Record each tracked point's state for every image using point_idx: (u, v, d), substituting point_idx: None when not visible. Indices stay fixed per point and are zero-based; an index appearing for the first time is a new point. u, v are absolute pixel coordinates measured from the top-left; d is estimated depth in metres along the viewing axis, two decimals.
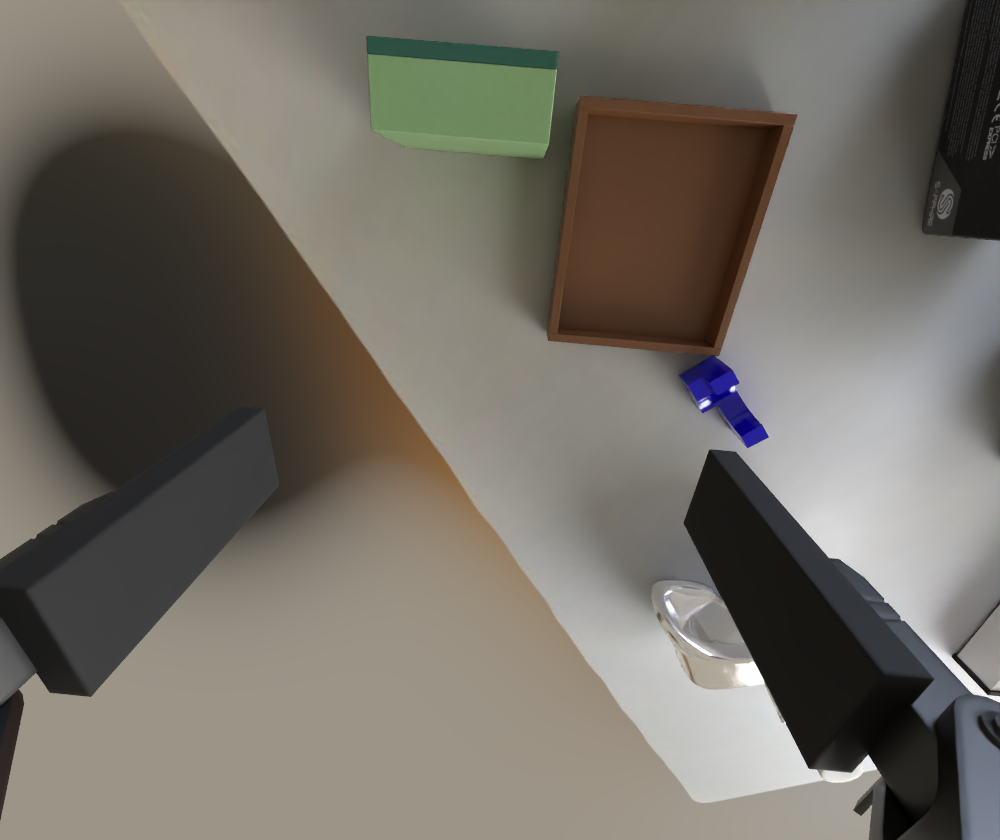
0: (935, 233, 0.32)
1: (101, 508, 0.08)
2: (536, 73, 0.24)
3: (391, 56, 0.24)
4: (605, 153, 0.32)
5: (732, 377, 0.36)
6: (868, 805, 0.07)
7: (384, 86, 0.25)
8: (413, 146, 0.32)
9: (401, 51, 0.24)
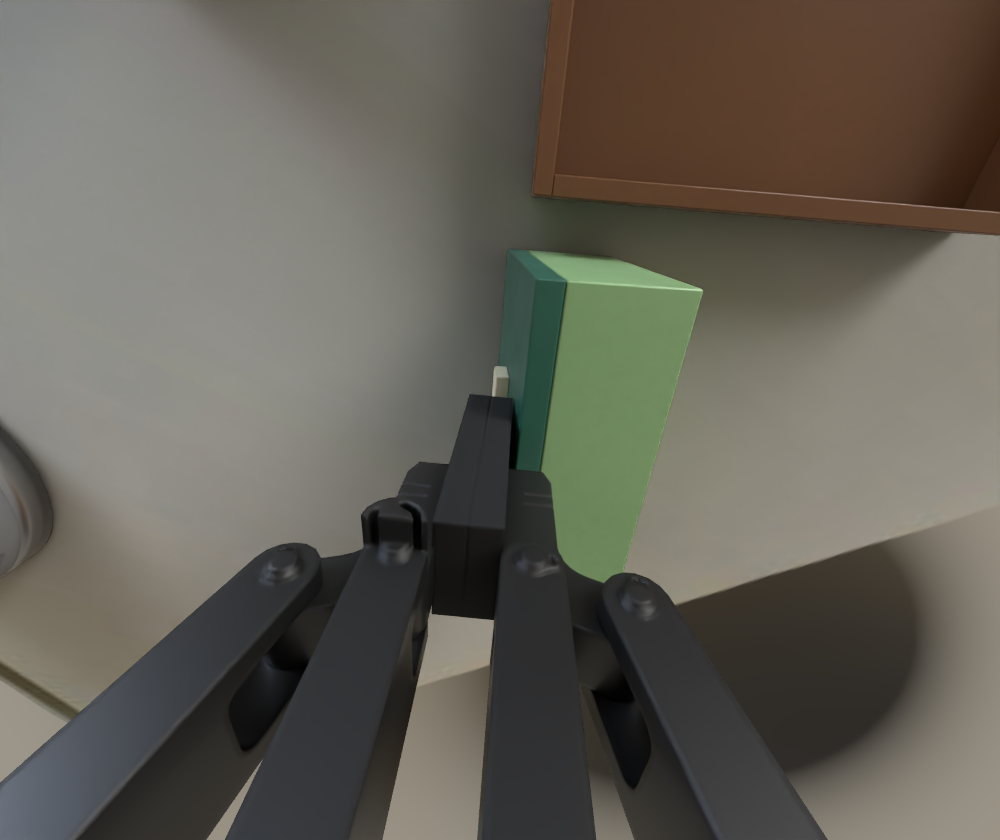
0: None
1: (455, 471, 0.10)
2: (570, 325, 0.11)
3: None
4: (620, 122, 0.16)
5: None
6: None
7: None
8: None
9: None
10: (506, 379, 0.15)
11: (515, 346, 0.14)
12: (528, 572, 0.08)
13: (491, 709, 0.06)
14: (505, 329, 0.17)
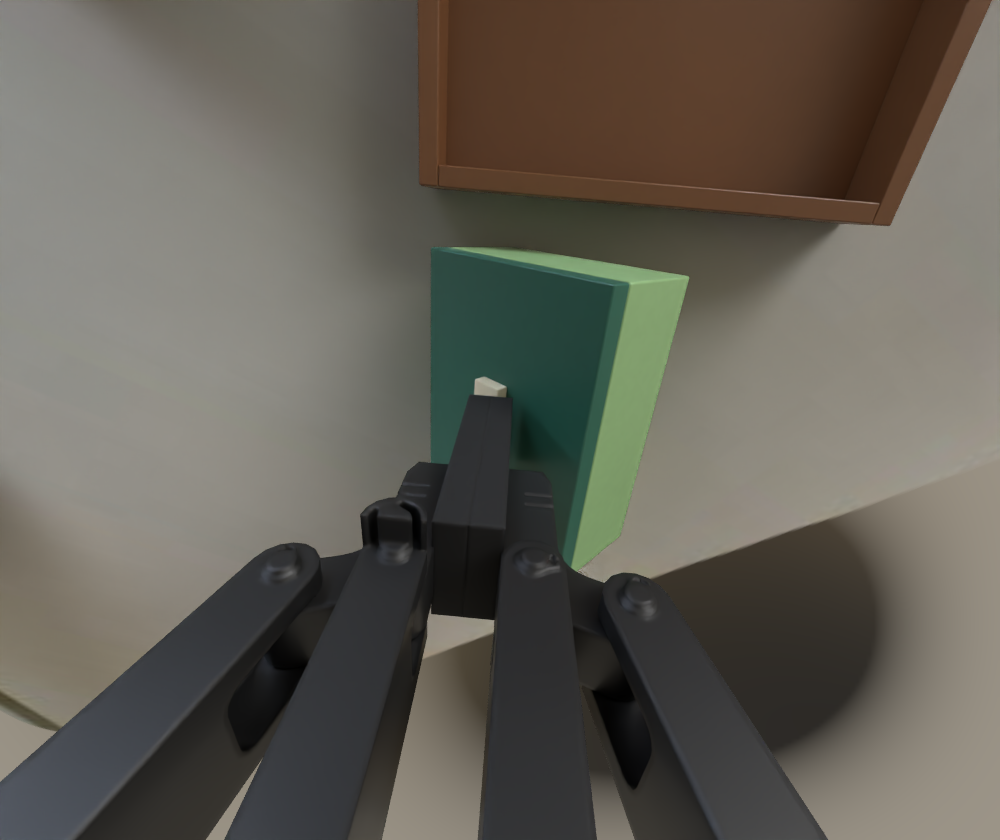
0: None
1: (455, 470, 0.10)
2: (627, 324, 0.12)
3: (575, 550, 0.16)
4: (508, 114, 0.16)
5: None
6: None
7: (595, 542, 0.17)
8: None
9: (573, 541, 0.15)
10: (505, 389, 0.15)
11: (527, 353, 0.13)
12: (528, 572, 0.08)
13: (492, 709, 0.06)
14: (458, 337, 0.16)
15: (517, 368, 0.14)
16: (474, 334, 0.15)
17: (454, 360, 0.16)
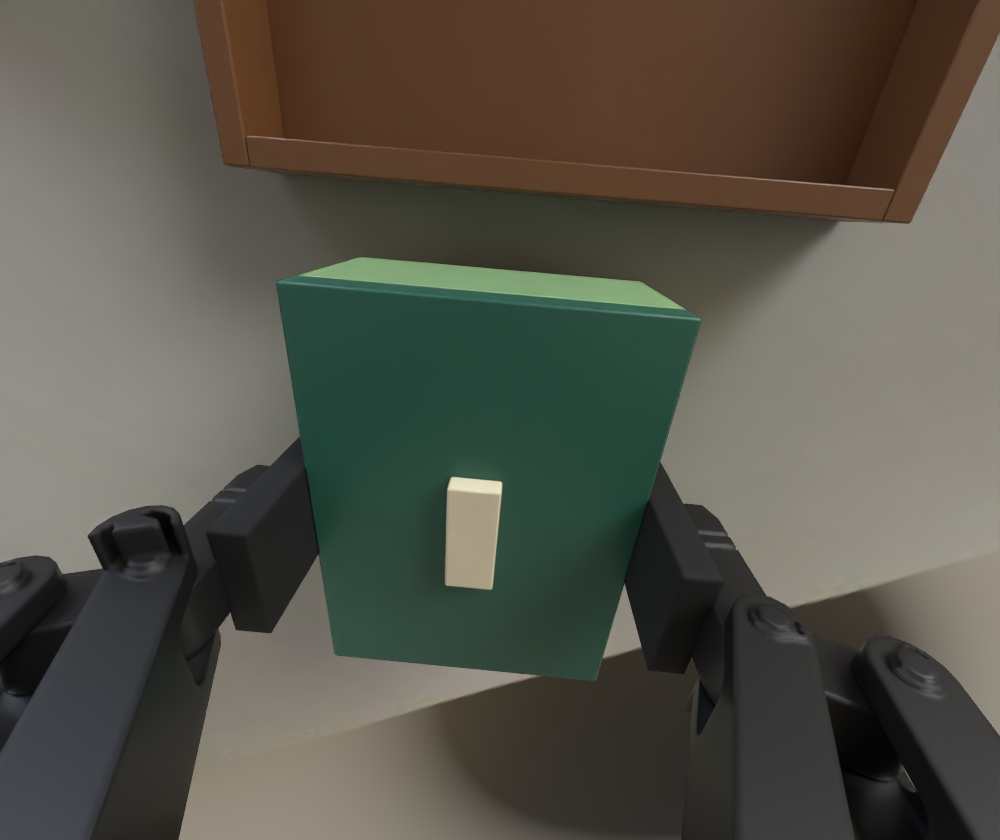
0: None
1: (271, 475, 0.09)
2: None
3: None
4: (359, 66, 0.11)
5: None
6: (692, 704, 0.08)
7: None
8: None
9: None
10: (502, 486, 0.10)
11: (542, 429, 0.09)
12: (768, 631, 0.07)
13: (734, 767, 0.05)
14: (378, 429, 0.09)
15: (522, 452, 0.09)
16: (420, 419, 0.09)
17: (372, 466, 0.10)
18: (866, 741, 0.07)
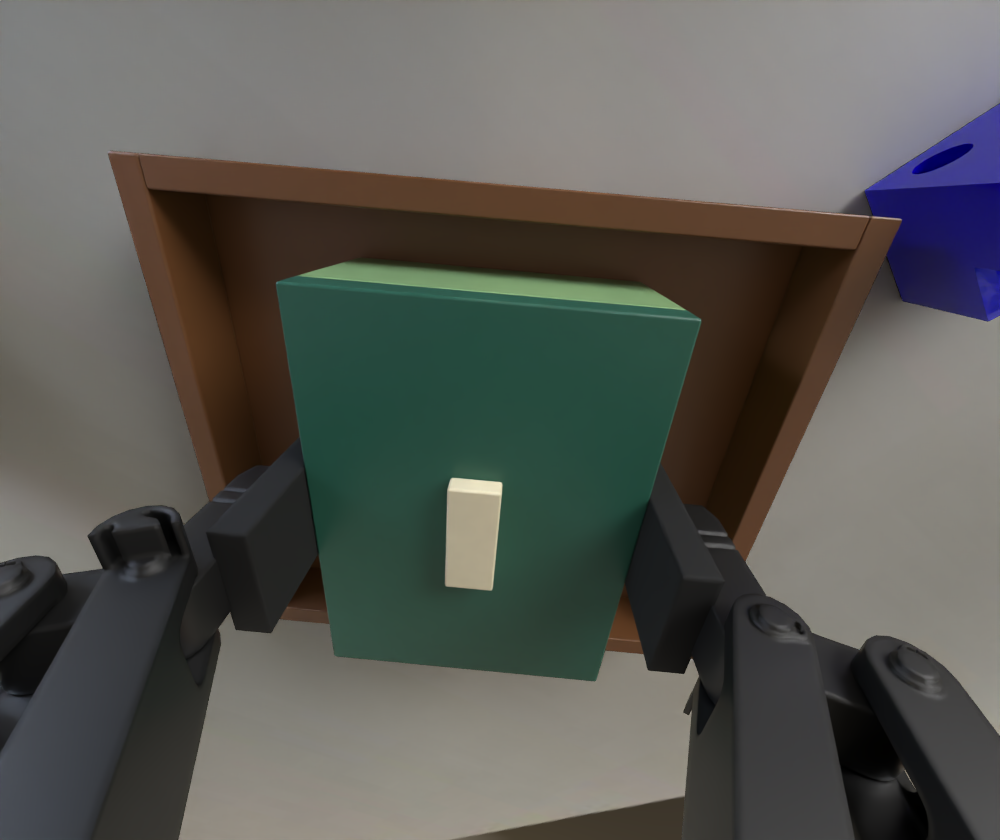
0: None
1: (271, 475, 0.09)
2: None
3: None
4: None
5: None
6: (692, 705, 0.08)
7: None
8: None
9: None
10: (502, 487, 0.09)
11: (542, 430, 0.09)
12: (767, 631, 0.07)
13: (734, 767, 0.05)
14: (378, 430, 0.09)
15: (522, 453, 0.09)
16: (420, 420, 0.09)
17: (372, 467, 0.10)
18: (866, 741, 0.07)
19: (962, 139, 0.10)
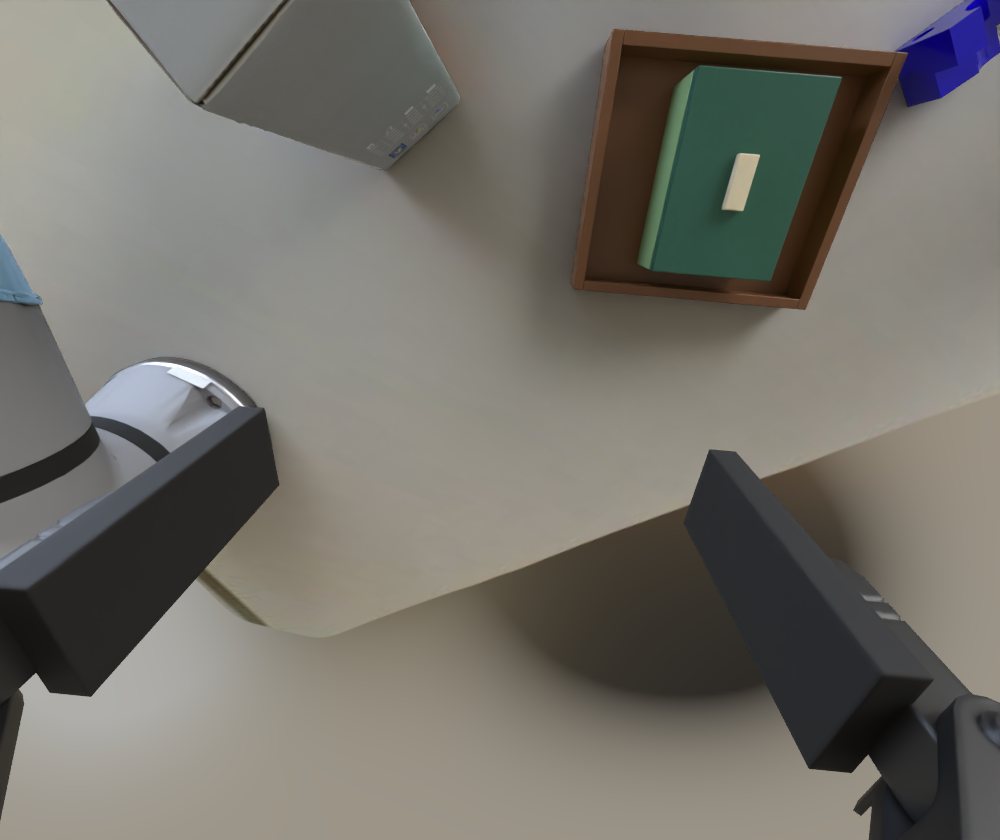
0: None
1: (101, 508, 0.08)
2: None
3: None
4: (615, 252, 0.32)
5: (964, 23, 0.23)
6: (868, 805, 0.07)
7: None
8: None
9: None
10: None
11: (777, 128, 0.25)
12: None
13: None
14: (715, 131, 0.25)
15: (767, 140, 0.25)
16: (732, 125, 0.25)
17: (707, 150, 0.25)
18: None
19: (931, 27, 0.25)
